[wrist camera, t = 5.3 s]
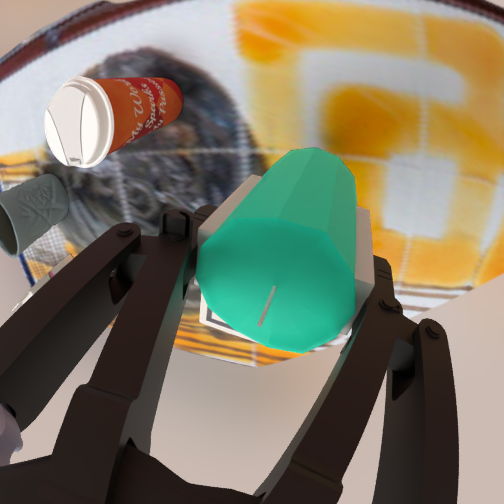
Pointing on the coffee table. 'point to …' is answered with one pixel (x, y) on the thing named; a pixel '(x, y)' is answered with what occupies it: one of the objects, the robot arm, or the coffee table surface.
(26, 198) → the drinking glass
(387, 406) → the robot arm
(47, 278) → the ink cartridge box
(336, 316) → the candle
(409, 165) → the coffee table surface
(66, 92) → the paper cup
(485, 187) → the coffee table surface
